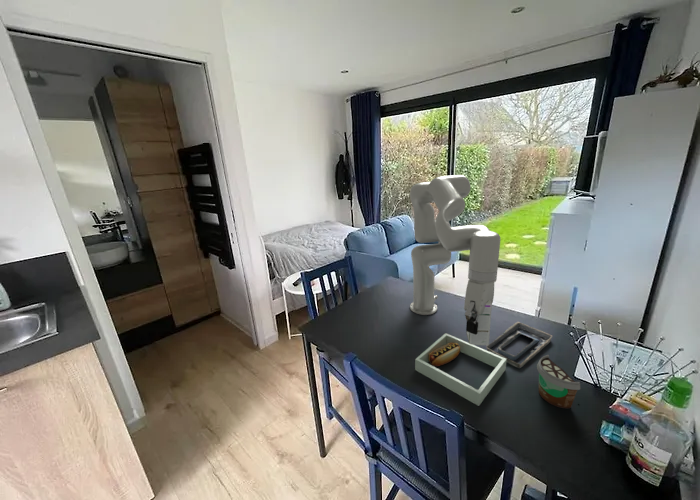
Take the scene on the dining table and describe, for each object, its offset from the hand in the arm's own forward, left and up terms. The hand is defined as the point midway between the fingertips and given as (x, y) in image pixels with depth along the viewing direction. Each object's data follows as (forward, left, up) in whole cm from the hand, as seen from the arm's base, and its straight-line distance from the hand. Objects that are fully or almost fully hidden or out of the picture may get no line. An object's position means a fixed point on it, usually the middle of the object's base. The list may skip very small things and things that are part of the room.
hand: (478, 326), depth 88 cm
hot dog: (-1, -11, -20) cm, 22 cm away
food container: (-7, +19, -20) cm, 28 cm away
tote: (0, -5, -19) cm, 20 cm away
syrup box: (0, 0, -5) cm, 5 cm away
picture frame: (-26, +5, -20) cm, 33 cm away
